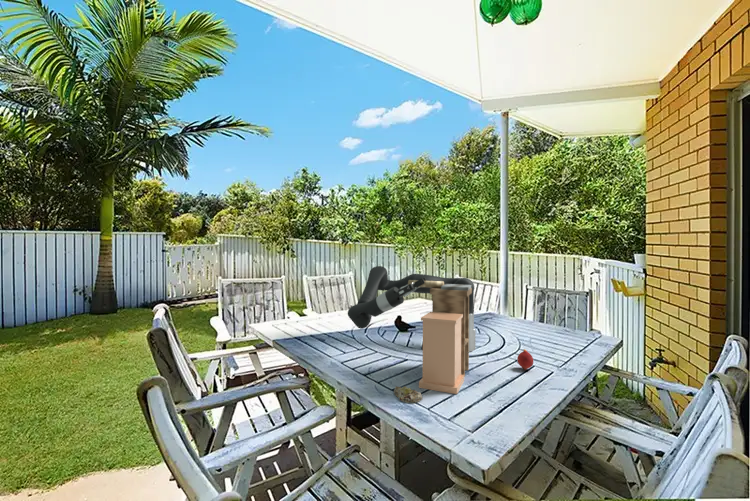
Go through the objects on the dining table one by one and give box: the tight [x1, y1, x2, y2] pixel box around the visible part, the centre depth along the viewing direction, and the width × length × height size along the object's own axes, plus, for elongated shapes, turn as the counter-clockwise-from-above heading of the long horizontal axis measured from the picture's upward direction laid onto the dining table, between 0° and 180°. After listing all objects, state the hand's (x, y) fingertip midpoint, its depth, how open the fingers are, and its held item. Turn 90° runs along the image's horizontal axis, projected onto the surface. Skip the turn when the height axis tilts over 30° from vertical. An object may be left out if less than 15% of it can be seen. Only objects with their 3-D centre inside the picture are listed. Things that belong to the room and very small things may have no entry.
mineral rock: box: [393, 385, 423, 404], centre depth 115 cm, size 11×4×8 cm
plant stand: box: [429, 288, 472, 378], centre depth 138 cm, size 14×10×32 cm
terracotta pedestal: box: [418, 311, 465, 395], centre depth 125 cm, size 13×13×24 cm
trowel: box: [408, 280, 471, 291], centre depth 140 cm, size 24×9×3 cm, turn 68°
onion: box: [516, 348, 534, 371], centre depth 140 cm, size 6×6×8 cm
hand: (424, 280), depth 142 cm, fingers closed on trowel, 2 cm apart
